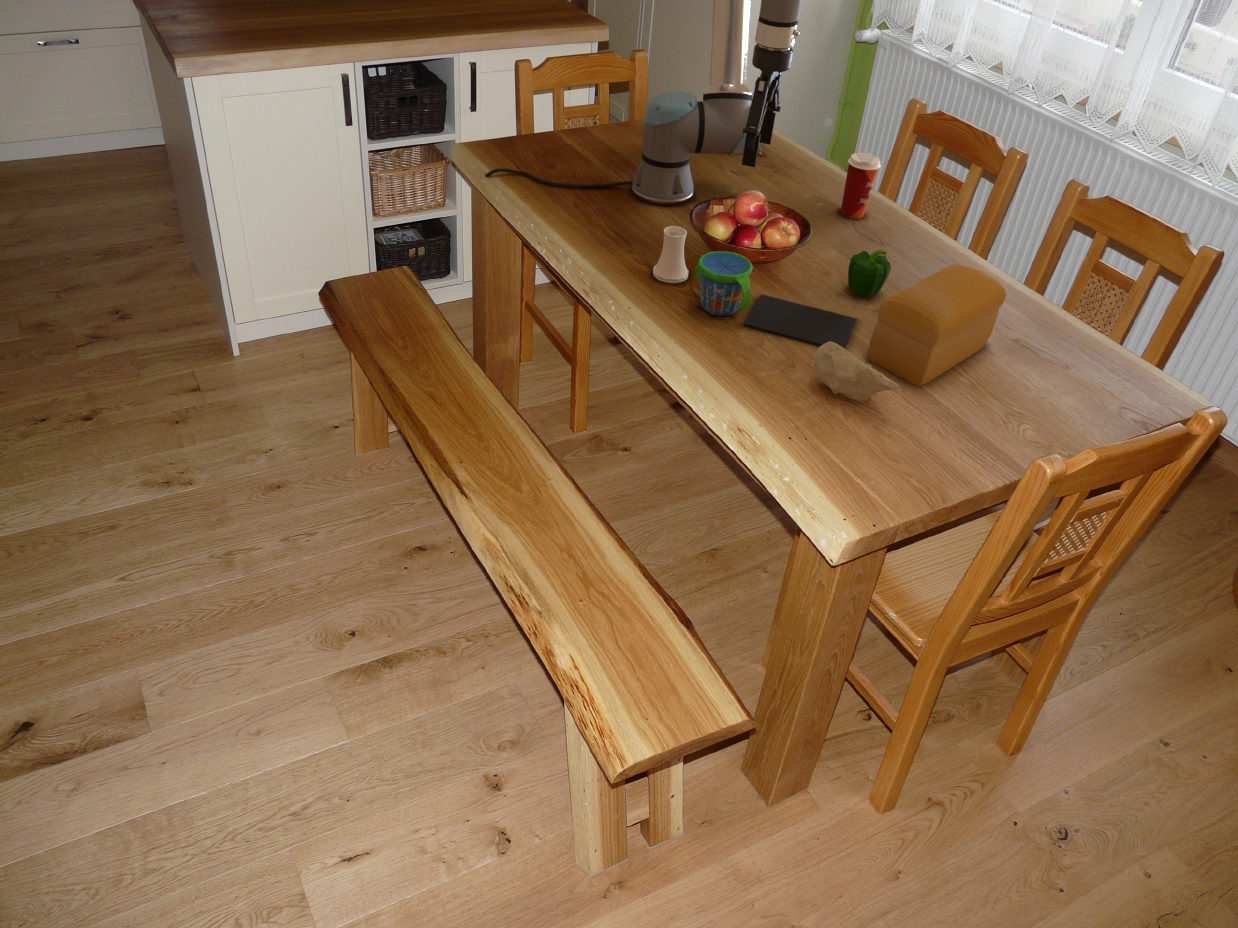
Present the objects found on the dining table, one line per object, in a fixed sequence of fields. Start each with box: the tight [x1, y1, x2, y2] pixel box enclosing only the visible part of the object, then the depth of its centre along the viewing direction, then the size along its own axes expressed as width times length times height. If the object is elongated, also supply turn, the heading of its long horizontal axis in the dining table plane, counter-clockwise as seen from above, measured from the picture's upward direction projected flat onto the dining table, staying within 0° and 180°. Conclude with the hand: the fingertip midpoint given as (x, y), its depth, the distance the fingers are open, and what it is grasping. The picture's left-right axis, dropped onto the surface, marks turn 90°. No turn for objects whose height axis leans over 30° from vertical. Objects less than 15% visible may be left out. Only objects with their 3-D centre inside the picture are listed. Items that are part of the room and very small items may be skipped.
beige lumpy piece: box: [813, 341, 900, 403], centre depth 167 cm, size 15×7×15 cm
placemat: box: [743, 294, 857, 349], centre depth 186 cm, size 20×13×1 cm, turn 68°
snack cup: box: [694, 250, 754, 317], centre depth 185 cm, size 16×10×10 cm
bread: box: [867, 263, 1007, 387], centre depth 176 cm, size 24×13×15 cm, turn 133°
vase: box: [652, 225, 690, 284], centre depth 195 cm, size 8×8×10 cm
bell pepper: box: [847, 249, 892, 299], centre depth 194 cm, size 8×8×10 cm
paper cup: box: [840, 152, 882, 220], centre depth 223 cm, size 8×8×14 cm
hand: (756, 154), depth 192 cm, fingers open, 13 cm apart
